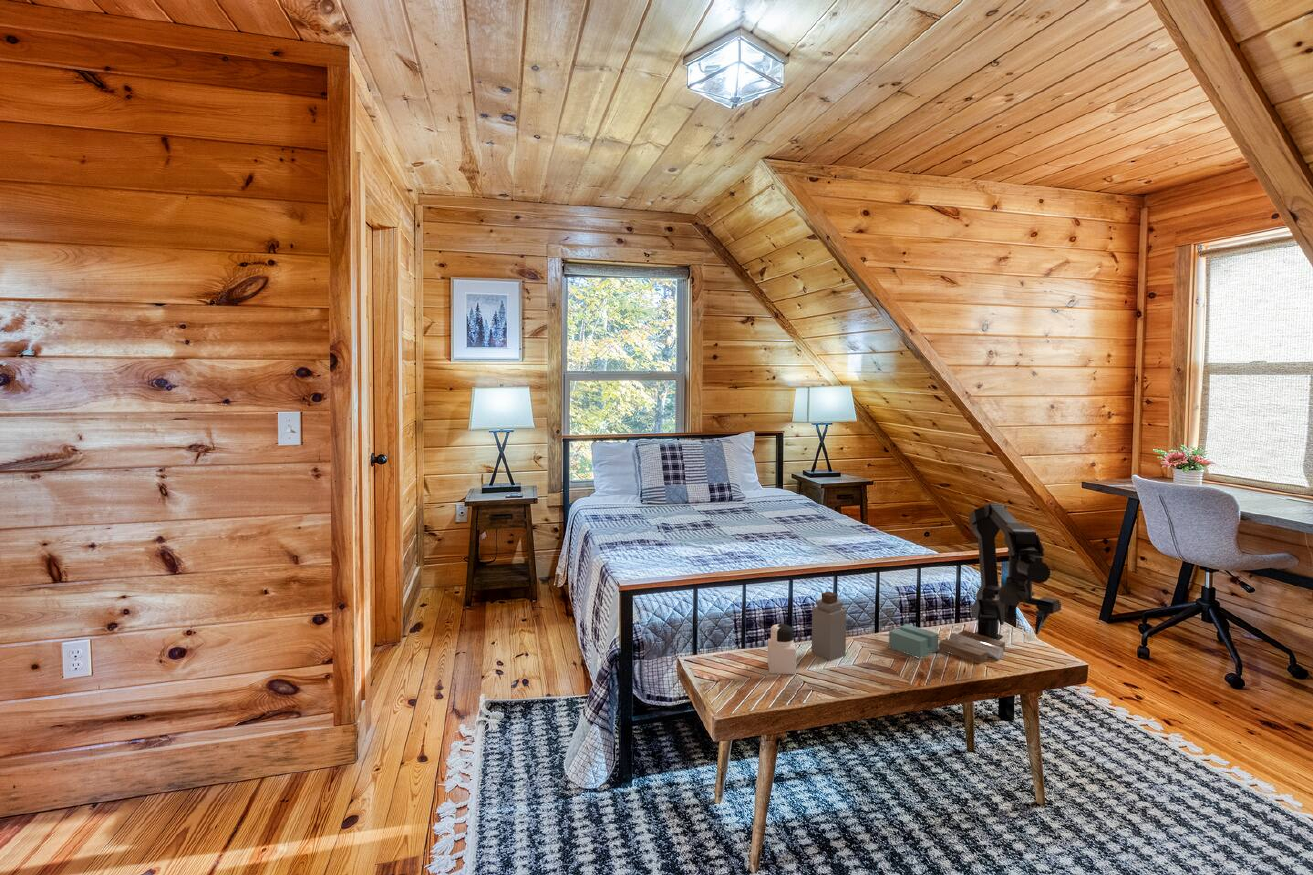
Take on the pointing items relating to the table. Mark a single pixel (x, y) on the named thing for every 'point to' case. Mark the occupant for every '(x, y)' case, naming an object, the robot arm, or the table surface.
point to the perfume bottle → (829, 628)
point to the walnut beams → (969, 647)
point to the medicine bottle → (781, 650)
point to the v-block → (913, 640)
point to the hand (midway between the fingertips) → (1019, 629)
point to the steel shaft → (979, 645)
